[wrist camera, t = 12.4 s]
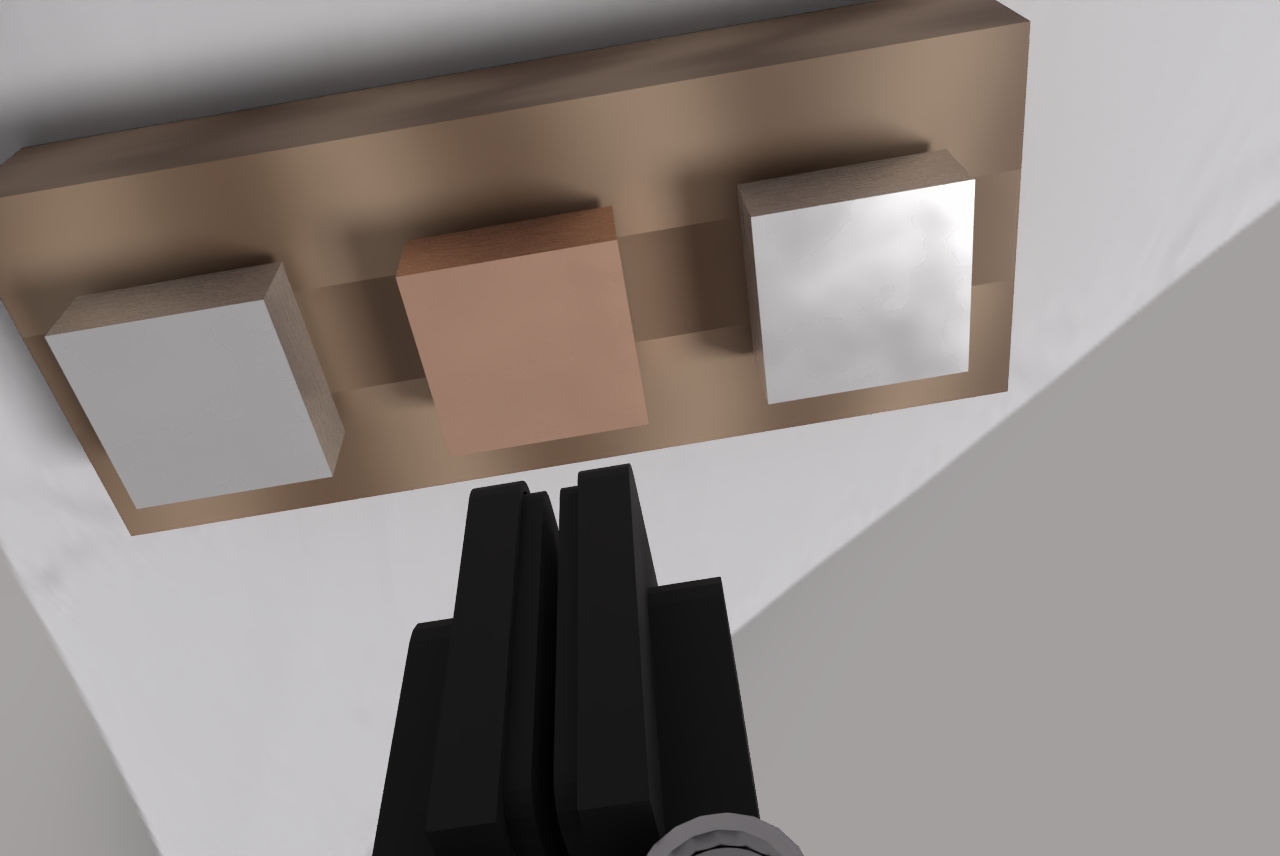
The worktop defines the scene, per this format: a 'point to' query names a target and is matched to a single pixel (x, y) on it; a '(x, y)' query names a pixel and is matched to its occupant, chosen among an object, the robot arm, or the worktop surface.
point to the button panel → (528, 189)
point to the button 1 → (201, 384)
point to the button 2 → (859, 274)
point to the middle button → (524, 330)
